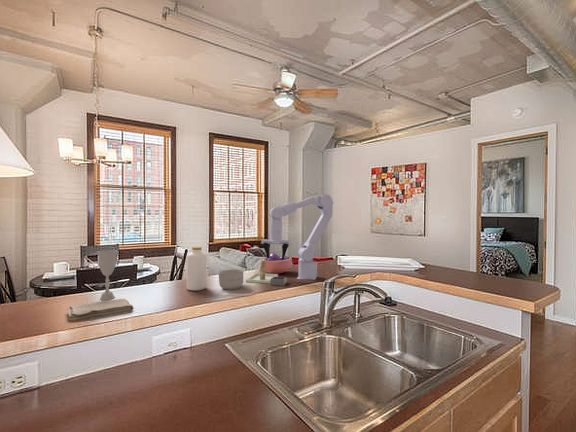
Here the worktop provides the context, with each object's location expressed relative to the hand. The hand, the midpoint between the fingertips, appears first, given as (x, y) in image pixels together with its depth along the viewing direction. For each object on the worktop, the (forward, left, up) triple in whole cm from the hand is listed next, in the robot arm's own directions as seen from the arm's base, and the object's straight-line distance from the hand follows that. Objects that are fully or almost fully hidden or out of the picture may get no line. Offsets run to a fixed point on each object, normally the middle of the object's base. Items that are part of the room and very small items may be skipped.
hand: (275, 258), depth 154 cm
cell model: (+3, -16, -11) cm, 20 cm away
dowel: (+6, +3, -10) cm, 12 cm away
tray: (+6, +3, -10) cm, 12 cm away
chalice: (+55, +47, -11) cm, 73 cm away
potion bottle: (+29, +26, -11) cm, 40 cm away
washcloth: (+45, +61, -11) cm, 77 cm away
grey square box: (-4, +11, -10) cm, 16 cm away
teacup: (+14, +21, -11) cm, 27 cm away
